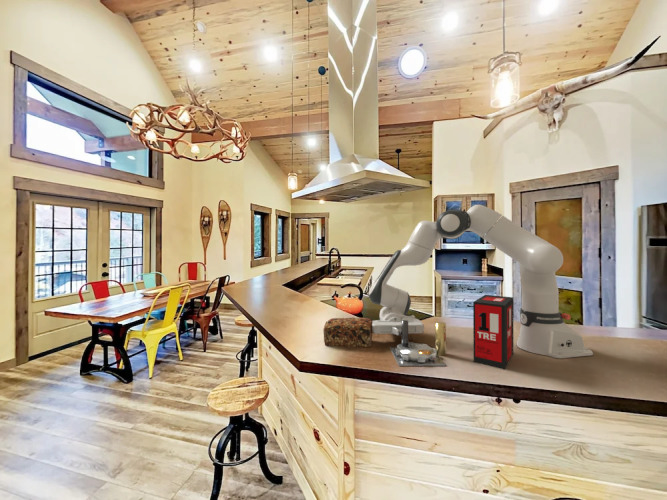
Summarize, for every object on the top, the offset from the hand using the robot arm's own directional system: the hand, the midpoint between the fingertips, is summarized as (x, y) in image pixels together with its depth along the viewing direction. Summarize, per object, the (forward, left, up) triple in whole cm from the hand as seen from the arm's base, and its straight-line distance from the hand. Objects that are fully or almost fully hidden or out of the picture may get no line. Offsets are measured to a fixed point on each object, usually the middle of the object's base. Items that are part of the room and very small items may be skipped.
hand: (401, 333), depth 104 cm
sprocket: (-4, +6, -6) cm, 9 cm away
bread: (+19, -9, -7) cm, 22 cm away
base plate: (-4, +6, -6) cm, 9 cm away
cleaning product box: (-30, +7, -7) cm, 32 cm away
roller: (-13, +3, -6) cm, 15 cm away
